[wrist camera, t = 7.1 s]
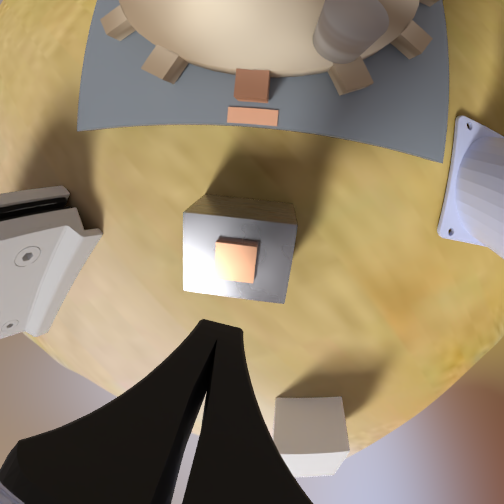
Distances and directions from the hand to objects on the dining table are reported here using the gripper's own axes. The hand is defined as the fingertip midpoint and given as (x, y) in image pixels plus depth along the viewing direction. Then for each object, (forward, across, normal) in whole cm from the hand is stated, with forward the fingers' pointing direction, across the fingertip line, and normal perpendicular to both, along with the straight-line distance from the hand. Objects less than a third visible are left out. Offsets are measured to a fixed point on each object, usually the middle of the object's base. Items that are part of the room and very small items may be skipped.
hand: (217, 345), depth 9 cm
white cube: (+9, -9, +15) cm, 20 cm away
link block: (+9, 0, -1) cm, 9 cm away
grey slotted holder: (+9, +17, +6) cm, 20 cm away
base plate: (+8, +2, -17) cm, 19 cm away
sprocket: (+7, +2, -17) cm, 19 cm away
